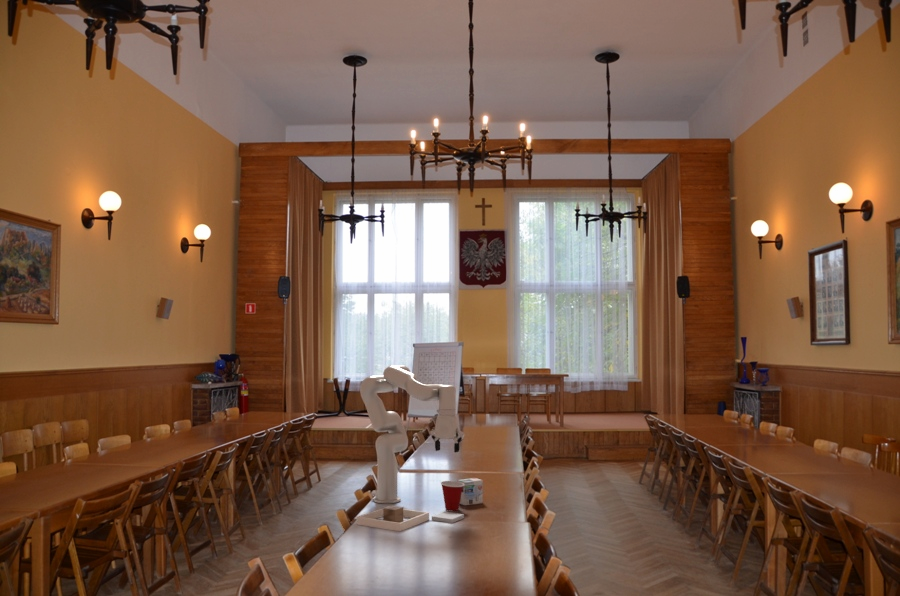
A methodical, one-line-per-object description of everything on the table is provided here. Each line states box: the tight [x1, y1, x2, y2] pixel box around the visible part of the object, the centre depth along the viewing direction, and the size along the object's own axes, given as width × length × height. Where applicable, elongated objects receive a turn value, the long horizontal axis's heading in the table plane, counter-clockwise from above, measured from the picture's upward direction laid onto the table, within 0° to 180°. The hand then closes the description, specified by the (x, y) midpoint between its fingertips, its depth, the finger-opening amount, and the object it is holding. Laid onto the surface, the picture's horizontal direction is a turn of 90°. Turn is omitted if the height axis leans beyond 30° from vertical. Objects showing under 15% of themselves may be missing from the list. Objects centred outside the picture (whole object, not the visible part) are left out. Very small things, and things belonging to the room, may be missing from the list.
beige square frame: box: [356, 506, 430, 532], centre depth 293 cm, size 22×22×3 cm
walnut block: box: [382, 505, 404, 523], centre depth 294 cm, size 6×6×6 cm
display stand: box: [431, 511, 465, 524], centre depth 299 cm, size 10×10×2 cm
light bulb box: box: [456, 477, 484, 506], centre depth 330 cm, size 11×7×11 cm, turn 122°
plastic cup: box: [440, 480, 465, 512], centre depth 316 cm, size 11×11×12 cm
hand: (447, 451), depth 315 cm, fingers open, 9 cm apart
